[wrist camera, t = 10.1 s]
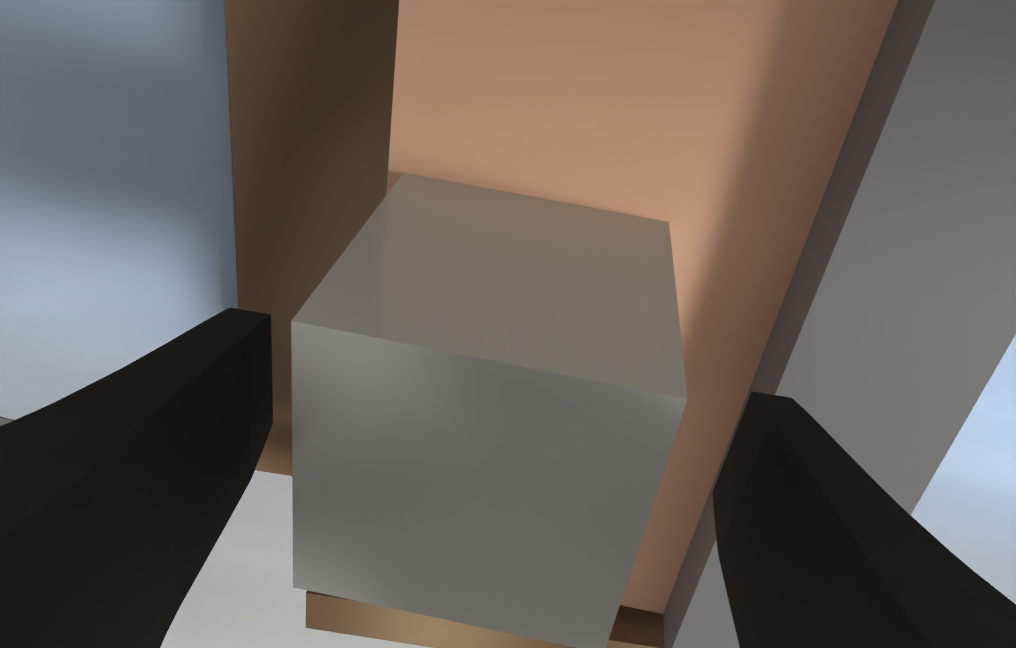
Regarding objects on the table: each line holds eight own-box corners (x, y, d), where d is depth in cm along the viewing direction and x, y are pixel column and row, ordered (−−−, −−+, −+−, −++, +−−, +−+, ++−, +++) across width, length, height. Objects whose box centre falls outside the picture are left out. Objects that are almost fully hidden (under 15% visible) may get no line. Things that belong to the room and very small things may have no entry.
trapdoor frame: (1210, -195, 14) (1631, -232, 8) (829, 541, 24) (907, 747, 18) (226, -366, 14) (-10, -520, 8) (255, 451, 24) (157, 632, 18)
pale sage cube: (668, 221, 13) (687, 398, 8) (611, 431, 15) (603, 653, 11) (403, 172, 13) (292, 320, 9) (387, 387, 15) (293, 587, 11)
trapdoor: (1082, -45, 12) (1220, -20, 9) (781, 576, 19) (806, 694, 16) (439, -156, 12) (383, -163, 9) (385, 493, 19) (344, 595, 17)
